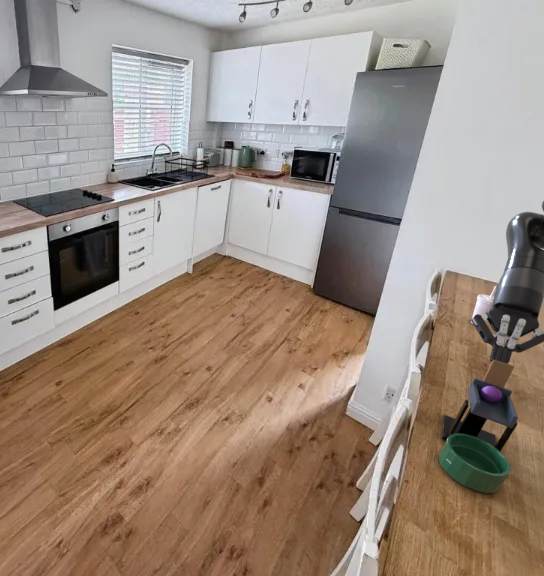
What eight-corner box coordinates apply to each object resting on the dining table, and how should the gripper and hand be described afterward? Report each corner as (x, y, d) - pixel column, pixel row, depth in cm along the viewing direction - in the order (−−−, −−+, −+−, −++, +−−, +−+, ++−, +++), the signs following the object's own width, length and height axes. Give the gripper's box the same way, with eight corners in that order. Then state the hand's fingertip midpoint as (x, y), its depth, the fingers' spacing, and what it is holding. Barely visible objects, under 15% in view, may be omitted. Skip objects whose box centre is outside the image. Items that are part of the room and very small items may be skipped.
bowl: (459, 446, 76) (469, 429, 74) (510, 487, 68) (523, 468, 66) (426, 457, 73) (435, 439, 71) (475, 500, 65) (487, 481, 63)
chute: (467, 391, 78) (484, 356, 75) (504, 404, 75) (523, 368, 72) (471, 413, 70) (490, 374, 67) (512, 428, 67) (533, 389, 64)
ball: (484, 395, 76) (490, 382, 75) (501, 405, 73) (508, 391, 72) (474, 396, 75) (480, 383, 74) (491, 406, 72) (498, 393, 71)
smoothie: (490, 324, 124) (510, 287, 118) (488, 331, 120) (508, 292, 114) (467, 317, 128) (485, 280, 122) (464, 323, 124) (482, 285, 118)
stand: (443, 417, 83) (461, 380, 79) (493, 437, 78) (516, 399, 74) (441, 441, 77) (461, 403, 72) (496, 465, 72) (521, 426, 67)
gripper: (486, 277, 80) (463, 347, 77) (570, 295, 73) (549, 374, 70) (476, 290, 87) (454, 357, 83) (552, 309, 79) (532, 382, 76)
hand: (497, 365), depth 76 cm, fingers closed
